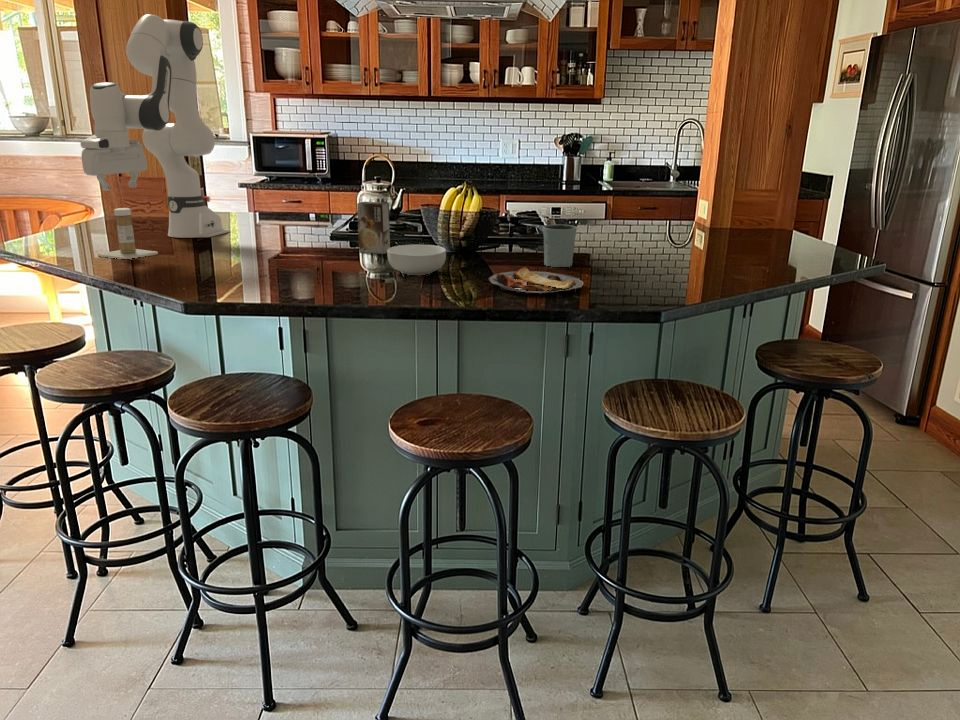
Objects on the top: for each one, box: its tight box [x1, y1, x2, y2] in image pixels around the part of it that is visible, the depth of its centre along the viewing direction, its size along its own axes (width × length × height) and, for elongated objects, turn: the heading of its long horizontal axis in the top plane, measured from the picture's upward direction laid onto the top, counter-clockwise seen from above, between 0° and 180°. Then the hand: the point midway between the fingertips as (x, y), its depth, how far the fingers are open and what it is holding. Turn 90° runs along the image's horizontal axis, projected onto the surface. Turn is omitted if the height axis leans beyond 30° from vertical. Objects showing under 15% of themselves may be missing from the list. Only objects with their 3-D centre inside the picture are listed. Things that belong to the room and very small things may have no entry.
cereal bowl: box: [386, 244, 447, 276], centre depth 205 cm, size 17×17×7 cm
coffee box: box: [356, 201, 391, 255], centre depth 236 cm, size 9×6×16 cm
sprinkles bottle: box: [113, 207, 137, 253], centre depth 221 cm, size 5×5×13 cm
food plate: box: [487, 266, 584, 295], centre depth 192 cm, size 25×23×4 cm
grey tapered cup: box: [542, 223, 578, 268], centre depth 220 cm, size 10×10×12 cm
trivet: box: [97, 248, 159, 260], centre depth 223 cm, size 12×12×1 cm
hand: (119, 188), depth 217 cm, fingers open, 8 cm apart
